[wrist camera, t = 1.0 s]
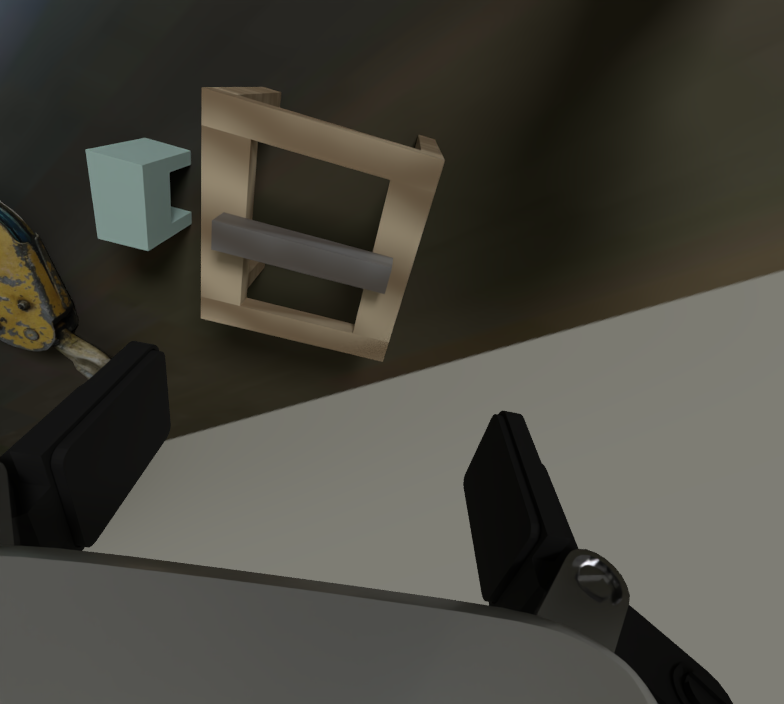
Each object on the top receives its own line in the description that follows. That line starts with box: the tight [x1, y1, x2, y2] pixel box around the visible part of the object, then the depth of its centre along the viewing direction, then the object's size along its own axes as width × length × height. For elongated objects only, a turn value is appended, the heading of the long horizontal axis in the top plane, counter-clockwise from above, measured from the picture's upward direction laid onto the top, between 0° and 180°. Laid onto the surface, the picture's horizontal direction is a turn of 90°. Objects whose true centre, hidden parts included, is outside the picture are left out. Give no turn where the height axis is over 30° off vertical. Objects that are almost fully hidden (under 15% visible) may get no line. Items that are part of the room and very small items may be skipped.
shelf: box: [201, 87, 445, 362], centre depth 33 cm, size 16×15×14 cm
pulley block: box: [0, 201, 111, 379], centre depth 43 cm, size 14×6×30 cm
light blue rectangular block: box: [86, 138, 192, 251], centre depth 35 cm, size 7×4×8 cm, turn 165°
